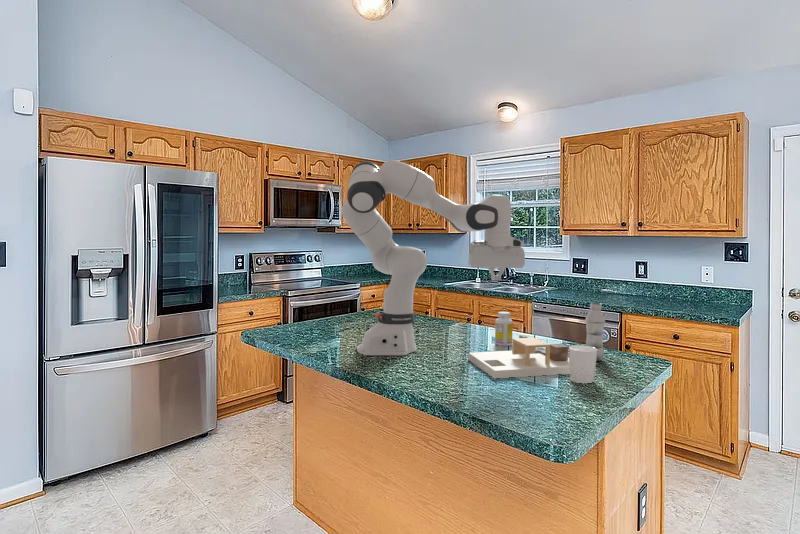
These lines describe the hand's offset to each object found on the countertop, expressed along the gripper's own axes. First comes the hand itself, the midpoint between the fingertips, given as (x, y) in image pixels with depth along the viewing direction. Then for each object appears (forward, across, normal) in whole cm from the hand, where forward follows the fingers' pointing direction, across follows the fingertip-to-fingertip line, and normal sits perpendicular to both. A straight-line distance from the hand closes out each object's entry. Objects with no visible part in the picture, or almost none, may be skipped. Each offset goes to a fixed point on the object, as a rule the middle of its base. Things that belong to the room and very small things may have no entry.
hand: (495, 280), depth 169 cm
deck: (+27, +5, -13) cm, 31 cm away
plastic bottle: (+27, +33, -11) cm, 44 cm away
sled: (+24, +13, -11) cm, 30 cm away
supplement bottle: (+27, +12, +17) cm, 34 cm away
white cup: (+28, +15, -31) cm, 44 cm away
